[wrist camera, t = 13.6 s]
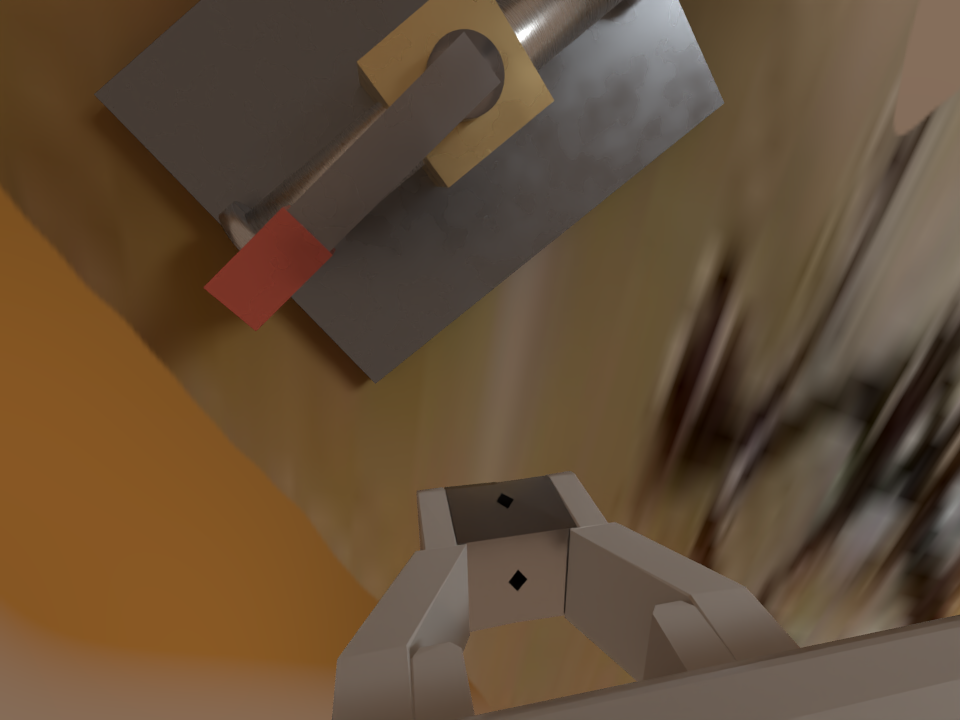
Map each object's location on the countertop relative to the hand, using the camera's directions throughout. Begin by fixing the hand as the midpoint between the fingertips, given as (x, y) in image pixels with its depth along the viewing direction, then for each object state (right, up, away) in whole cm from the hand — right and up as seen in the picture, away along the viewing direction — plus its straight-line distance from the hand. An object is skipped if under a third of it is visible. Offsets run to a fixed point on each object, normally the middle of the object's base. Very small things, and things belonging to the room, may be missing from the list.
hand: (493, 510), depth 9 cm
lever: (-6, +12, +15) cm, 20 cm away
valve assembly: (-3, +19, +21) cm, 29 cm away
